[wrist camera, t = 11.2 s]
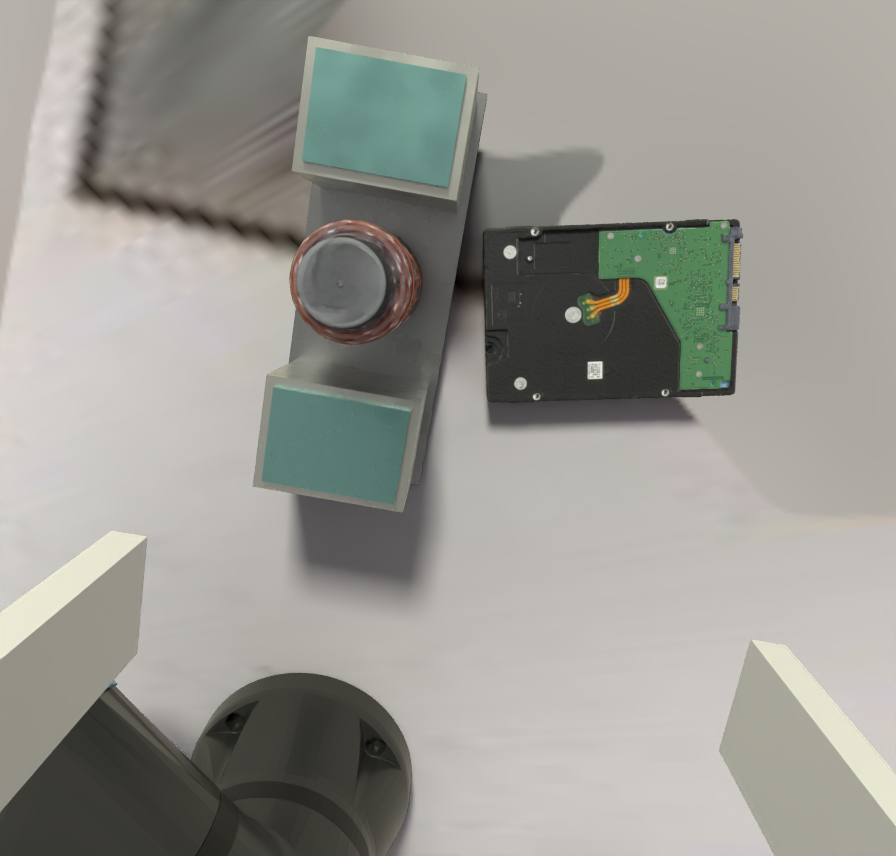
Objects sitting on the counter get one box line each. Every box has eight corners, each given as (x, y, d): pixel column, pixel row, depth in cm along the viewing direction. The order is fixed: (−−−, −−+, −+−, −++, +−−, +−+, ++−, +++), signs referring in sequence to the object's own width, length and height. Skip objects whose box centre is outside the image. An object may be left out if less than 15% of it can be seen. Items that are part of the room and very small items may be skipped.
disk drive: (486, 398, 46) (723, 388, 46) (487, 406, 43) (739, 396, 43) (480, 230, 44) (728, 217, 43) (480, 227, 41) (746, 213, 41)
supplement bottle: (432, 323, 43) (420, 341, 32) (334, 340, 43) (289, 364, 32) (413, 220, 42) (394, 202, 31) (312, 239, 42) (258, 228, 31)
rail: (420, 478, 47) (410, 525, 38) (282, 453, 47) (240, 496, 38) (486, 100, 42) (492, 55, 33) (332, 71, 42) (297, 19, 33)
